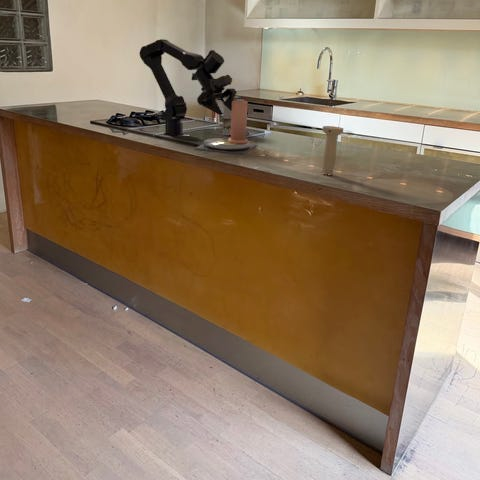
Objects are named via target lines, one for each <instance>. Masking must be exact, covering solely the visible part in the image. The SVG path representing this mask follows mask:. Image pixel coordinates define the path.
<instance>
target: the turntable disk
mask: <svg viewBox="0 0 480 480" xmlns="http://www.w3.org/2000/svg"><path fill="white" fill-rule="evenodd" d="M228 138H229V137H216V138H214V137H213V138H207V139H205V140H204V141H203V144H204V145H205V146H206V147H209V148H214V149H221V150H241V149H247V148H249V147H250V142H249V141H248V143H246V144H234V143H229V142H228Z"/></svg>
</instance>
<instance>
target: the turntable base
mask: <svg viewBox="0 0 480 480" xmlns="http://www.w3.org/2000/svg"><path fill="white" fill-rule="evenodd" d="M249 143H250V142H249ZM256 146H257V143H250V147H249V148H247V149H241V150H221V149H214V148H209V147H206V146H205V145H202V144H201V145H198V146H196V147H195V148H194V149H195V150H196V151H198V150H199V151H207V152H216V153H223V154H225V153H226V154H232V155H233V154H236V155H244V156H245V154H247V153H248V152H250V151H251V150H253V148H255V147H256Z"/></svg>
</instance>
